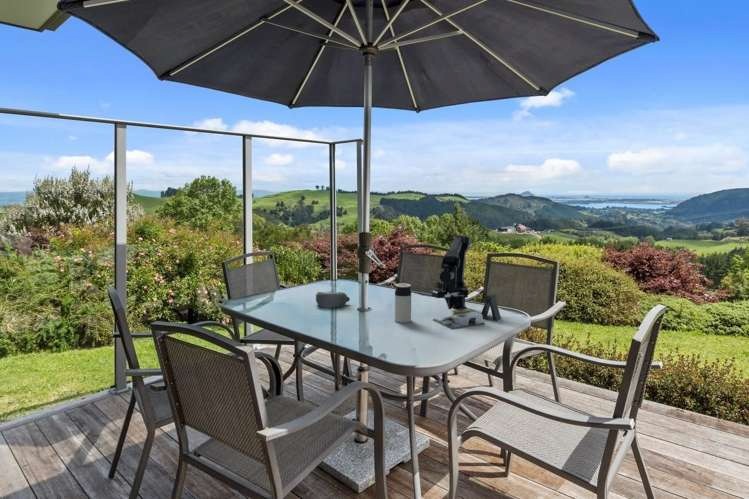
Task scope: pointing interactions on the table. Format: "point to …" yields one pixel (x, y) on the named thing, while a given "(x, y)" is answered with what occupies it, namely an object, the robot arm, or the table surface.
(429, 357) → the table surface
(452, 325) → the frame
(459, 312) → the plate
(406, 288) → the travel mug
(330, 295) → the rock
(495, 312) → the phone stand
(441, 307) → the table surface
